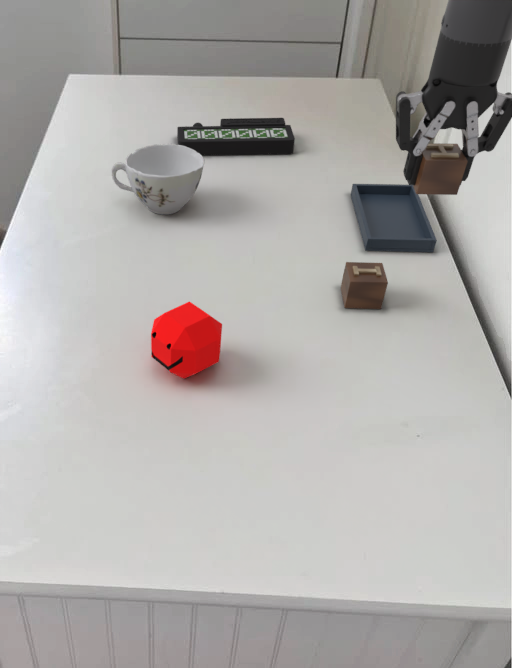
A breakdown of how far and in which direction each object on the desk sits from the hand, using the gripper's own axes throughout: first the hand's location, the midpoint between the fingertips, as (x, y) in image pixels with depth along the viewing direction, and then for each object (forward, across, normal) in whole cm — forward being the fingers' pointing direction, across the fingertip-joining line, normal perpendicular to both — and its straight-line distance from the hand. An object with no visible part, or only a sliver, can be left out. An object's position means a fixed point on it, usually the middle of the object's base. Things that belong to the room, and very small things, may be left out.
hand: (433, 182), depth 90 cm
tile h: (0, 0, 0) cm, 0 cm away
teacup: (+16, -36, +24) cm, 46 cm away
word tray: (+16, +2, +20) cm, 25 cm away
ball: (+16, -31, -18) cm, 39 cm away
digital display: (+16, -22, +49) cm, 56 cm away
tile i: (+16, -6, -2) cm, 17 cm away
